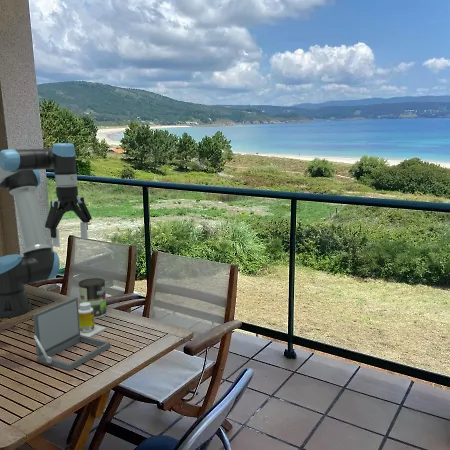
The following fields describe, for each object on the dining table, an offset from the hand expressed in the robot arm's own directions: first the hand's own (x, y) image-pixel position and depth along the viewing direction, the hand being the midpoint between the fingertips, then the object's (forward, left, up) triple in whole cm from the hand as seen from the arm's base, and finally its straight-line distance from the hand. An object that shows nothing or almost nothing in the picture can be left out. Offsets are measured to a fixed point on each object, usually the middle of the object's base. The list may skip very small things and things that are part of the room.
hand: (71, 242), depth 165 cm
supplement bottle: (+8, -3, -32) cm, 33 cm away
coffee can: (-2, +11, -33) cm, 35 cm away
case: (+18, -18, -33) cm, 41 cm away
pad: (+8, -3, -33) cm, 34 cm away
